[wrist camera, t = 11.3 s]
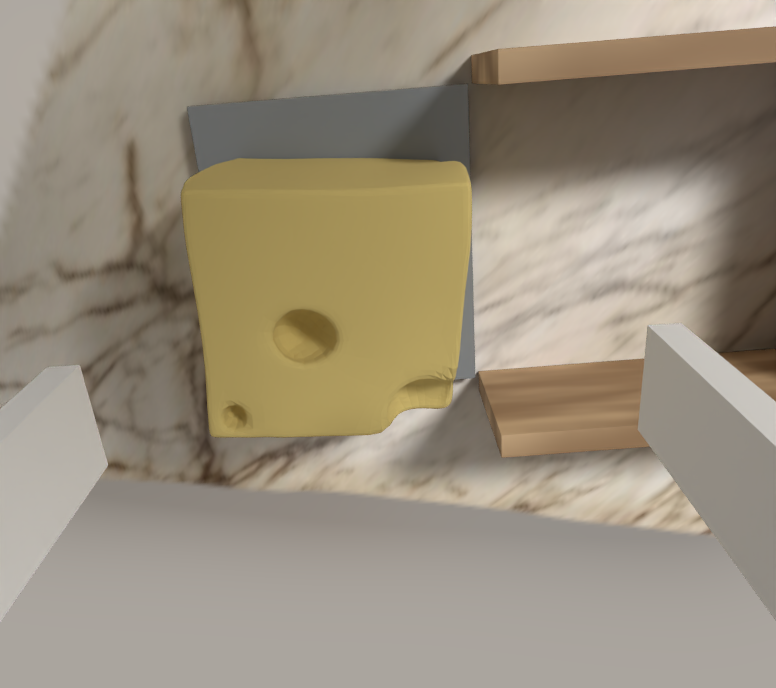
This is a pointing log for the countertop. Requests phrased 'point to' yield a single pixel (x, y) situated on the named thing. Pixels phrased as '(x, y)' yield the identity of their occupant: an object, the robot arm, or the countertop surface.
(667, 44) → the open wooden frame
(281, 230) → the cheese
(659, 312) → the countertop surface
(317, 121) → the slate pad
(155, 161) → the countertop surface
